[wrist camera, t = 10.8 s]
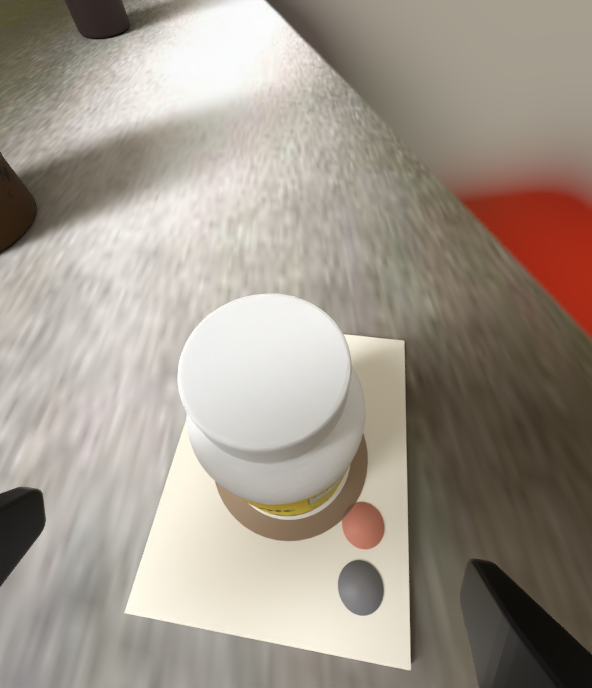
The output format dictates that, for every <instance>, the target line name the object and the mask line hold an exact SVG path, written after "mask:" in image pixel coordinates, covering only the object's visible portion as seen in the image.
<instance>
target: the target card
mask: <svg viewBox="0 0 592 688" xmlns="http://www.w3.org/2000/svg"><path fill="white" fill-rule="evenodd" d="M343 335H344V337H345V339H346V341H347V344H348V347H349V351H350V356H351V362H352V366H353V368H354V369H355V371H356V373H357V375H358V377H359V380H360V382H361V385H362V389H363V393H364V398H365V406H366V418H365V426H364V431H363V435H362V439H361V442H360V445H359V448H358V450H357V452H356V455H355V456H354V458H353V460H352V462H351V464H350V466H349V468H348V470H347V472H346V474H345V475H344V477H343V479H342V481H341V483H340V485H339V486H338V488H337V490H336V491H335V492H334V494H333V495H332V496H331V497H330V498H329V499H328V500H327V501H326V502H325V503H323V504H322V505H321V506H319V507H318V508H316V509H314V510H312V511H310V512H308V513H305V514H302V515H297V516H277V515H273V514H269V513H267V512H264V511H262V510H260V509H258V508H256V507H255V506H253V505H251V504H249V503H247V502H245V501H243V500H242V499H240V498H239V497H237V496H235V495H233V494H231V493H230V492H228V491H227V490H225V489H224V488H223V487H221V486H220V485H219V484H218V483H216V482H215V480H213V479H212V478H211V477H210V476H209V475H208V473H207V472H206V471H205V470H204V468H203V467H202V466H201V464H200V463H199V461H198V459H197V457H196V455H195V453H194V451H193V448H192V446H191V443H190V440H189V435H188V429H187V418H186V422H185V425H184V428H183V431H182V434H181V437H180V440H179V443H178V447H177V450H176V453H175V456H174V459H173V462H172V465H171V469H170V472H169V475H168V478H167V481H166V484H165V487H164V491H163V494H162V497H161V500H160V503H159V506H158V509H157V512H156V516H155V519H154V522H153V525H152V528H151V531H150V534H149V538H148V541H147V544H146V547H145V550H144V553H143V556H142V559H141V563H140V566H139V569H138V572H137V575H136V578H135V581H134V585H133V588H132V591H131V594H130V597H129V600H128V603H127V606H126V610H125V613H127V614H132V615H137V616H142V617H147V618H152V619H157V620H162V621H167V622H172V623H177V624H182V625H187V626H192V627H197V628H202V629H207V630H212V631H217V632H222V633H227V634H232V635H237V636H241V637H246V638H251V639H256V640H261V641H266V642H271V643H276V644H281V645H286V646H291V647H296V648H301V649H306V650H311V651H316V652H321V653H326V654H331V655H336V656H341V657H346V658H351V659H355V660H360V661H365V662H370V663H375V664H380V665H385V666H390V667H395V668H400V669H405V670H410V671H411V657H410V605H409V553H408V501H407V450H406V398H405V346H404V341H402V340H392V339H383V338H373V337H364V336H354V335H345V334H343Z"/></svg>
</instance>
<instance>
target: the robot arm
mask: <svg viewBox="0 0 592 688" xmlns="http://www.w3.org/2000/svg"><path fill="white" fill-rule="evenodd" d="M45 522H46V517H45V508H44V499H43V493H42V492H41V490H39V489H36V488H30V487H18V488H15V489H12V490H9V491H6V492H4V493H1V494H0V587H1V585H2V584H3V583H4V581H5V580H6V579H7V577H8V576H9V575H10V573H11V572H12V571H13V569H14V568H15V567H16V566H17V564H18V563H19V562H20V560H21V559H22V558H23V556H24V555H25V554H26V552H27V551H28V550H29V548H30V547H31V546H32V545H33V543H34V542H35V541H36V539H37V538H38V537H39V535H40V534H41V532H42V531H43V529H44V526H45ZM460 603H461V609H462V613H463V617H464V622H465V626H466V631H467V635H468V640H469V644H470V648H471V653H472V657H473V662H474V666H475V671H476V675H477V680H478V684H479V688H592V654H591V653H590V652H589V651H587V650H586V649H585V648H584V647H583V646H582V645H581V644H580V643H579V642H578V641H577V640H576V639H575V638H574V637H573V636H572V635H570V634H569V633H568V632H567V631H566V630H565V629H564V628H563V627H562V626H561V625H560V624H559V623H558V622H557V621H556V620H554V619H553V618H552V617H551V616H550V615H549V614H548V613H547V612H546V611H545V610H544V609H543V608H542V607H541V606H540V605H538V604H537V603H536V602H535V601H534V600H533V599H532V598H531V597H530V596H529V595H528V594H527V593H526V592H525V591H524V590H523V589H521V588H520V587H519V586H518V585H517V584H516V583H515V582H514V581H513V580H512V579H511V578H510V577H509V576H508V575H507V574H505V573H504V572H503V571H502V570H501V569H500V568H499V567H498V566H497V565H496V564H494V563H493V562H490V561H486V560H480V559H470V560H469V561H468V563H467V566H466V570H465V574H464V578H463V582H462V587H461V591H460Z"/></svg>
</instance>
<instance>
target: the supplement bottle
mask: <svg viewBox="0 0 592 688" xmlns="http://www.w3.org/2000/svg"><path fill="white" fill-rule="evenodd" d="M178 389H179V394H180V398H181V400H182V403H183V405H184V408H185V410H186V412H187V429H188V435H189V440H190V443H191V446H192V448H193V451H194V453H195V455H196V457H197V459H198V461H199V463H200V464H201V466H202V467H203V468H204V470H205V471H206V472H207V473H208V475H209V476H210V477H211V478H212V479H213V480H215V482H216V483H218V484H219V485H220V486H221V487H223V488H224V489H225V490H227V491H228V492H230V493H231V494H233V495H235V496H237V497H239V498H240V499H242V500H243V501H245V502H247V503H249V504H251V505H253V506H255V507H256V508H258V509H260V510H262V511H264V512H267V513H269V514H273V515H277V516H297V515H302V514H305V513H308V512H310V511H312V510H314V509H316V508H318V507H319V506H321V505H322V504H323V503H325V502H326V501H327V500H328V499H329V498H330V497H331V496H332V495H333V494H334V492H335V491H336V490H337V488H338V486H339V485H340V483H341V481H342V479H343V477H344V475H345V474H346V472H347V470H348V468H349V466H350V464H351V462H352V460H353V458H354V456H355V455H356V452H357V450H358V448H359V445H360V442H361V439H362V435H363V431H364V426H365V418H366V406H365V398H364V393H363V389H362V385H361V382H360V380H359V377H358V375H357V373H356V371H355V369H354V368H353V366H352V362H351V356H350V351H349V347H348V344H347V341H346V339H345V337H344V335H343V333H342V331H341V330H340V328H339V327H338V325H337V324H336V323H335V322H334V321H333V319H332V318H331V317H330V316H329V315H327V314H326V313H325V312H324V311H322V310H321V309H320V308H318V307H317V306H315V305H313V304H312V303H310V302H308V301H305V300H303V299H300V298H297V297H294V296H289V295H283V294H269V293H265V294H256V295H249V296H246V297H242V298H239V299H236V300H234V301H231V302H229V303H227V304H225V305H223V306H221V307H219V308H218V309H216V310H215V311H213V312H212V313H210V314H209V315H208V316H207V317H206V318H205V319H204V320H203V321H202V322H201V323H200V324H199V325H198V326H197V327H196V328H195V330H194V331H193V332H192V333H191V335H190V336H189V338H188V340H187V342H186V344H185V346H184V348H183V351H182V354H181V356H180V361H179V365H178Z"/></svg>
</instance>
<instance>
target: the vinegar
mask: <svg viewBox="0 0 592 688" xmlns="http://www.w3.org/2000/svg"><path fill="white" fill-rule="evenodd" d="M65 2H66V4H67V6H68V9H69V11H70V13H71V15H72V18H73V20H74V22H75V24H76V27H77V29H78V31H79V32H80V33H81V35H83V36H85V37H87V38H107V37H112V36H116V35H118V34H121V33H123V32H124V31H126V30H127V29H128V27H129V20H128V17H127V14H126V11H125V8H124V5H123V2H122V0H65Z"/></svg>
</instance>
